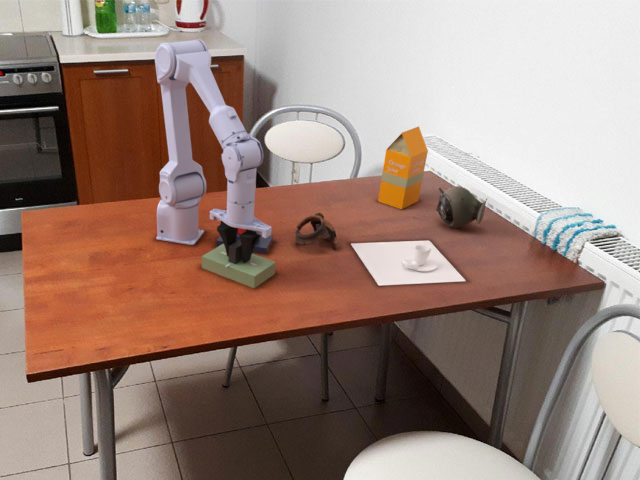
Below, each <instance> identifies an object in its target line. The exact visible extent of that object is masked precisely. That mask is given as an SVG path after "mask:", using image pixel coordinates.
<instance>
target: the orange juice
mask: <svg viewBox="0 0 640 480" xmlns="http://www.w3.org/2000/svg"><path fill="white" fill-rule="evenodd" d="M428 152H429V150H428V147H427V144H426V141H425V140H424V136H423V134H422V131H421V129H420V126H416V127H414V128H411V129H408V130H406V131H403V132H401V133H400V134H399V135H398V136H397V138H396V139H394V141H393V142H392V143H391V144H390V145H389V146H388V147H387V148H386V149H385V155H384V162H383V168H382V173H381V179H380V185H379V192H378V198H377V202H379V203H382V204H385V205H387V206H390V207H394V208H397V209H399V210H403V209H405V208H407V207H409V206H412V205H413V204H416V203H417V202H419V199H420V194H421V189H422V183H423V179H424V173H425V169H426V163H427V158H428Z"/></svg>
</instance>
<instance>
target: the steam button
mask: <svg viewBox="0 0 640 480" xmlns="http://www.w3.org/2000/svg"><path fill="white" fill-rule="evenodd" d="M244 232H246V230H245V229H240V228H238V232H237V233H238V234H242V233H244Z"/></svg>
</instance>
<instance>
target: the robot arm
mask: <svg viewBox="0 0 640 480" xmlns="http://www.w3.org/2000/svg"><path fill="white" fill-rule="evenodd" d="M153 55H154V65H155V74H156V81H157V84H159V85H160V91H161V101H162V109H163V119H164V127H165V137H166V144H167V145H166V146H167V153H168V162H167V163H166V164H165V165H164V166H163V168H161V170H160V171H159V184H158V193H159V196H160V198H161V199H160V200H159V202H158V204H157V208H156V230H157V231H156V233H157V235H156V237H155V239H156V240H157V241H162V242H170V243H175V244H181V245H188V246H195V245H196V243H197V242H198V241H199V240H200V238H201V237H202V235H203V234H204V233H205V230H204V229H199V227H200V226H199V224H200V223H199V221H200V220H199V219H200V218H199V217H200V215H199V208H200V207H199V206H200V205H199V203H200V202H202V198H203V197H204V196H205V195H206V194H207V193H206V192H207V187H208V186H207V180H206V178H205V175H204V171H203V166H202V165H200V164H199V163H198V162H196V161H195V160H193V149H192V141H191V140H192V139H191V130H190V121H189V111H188V101H187V100H188V99H187V90H186V88H187V86H188V84H191V85H192V87H193V88H194V89H195V91H196V93H197V94H198V96H199V97H200V99H201V101H202V102H203V104H204V105H205V107H206V109H207V110H208V112H209V117H208V118H209V119H208V124H209V126H210V128H211V129H212V131H213V133H214V135H215V137H216V139H217V141H218V143H219V144H220V147H221V149H222V150H223V152H222V153H221V162H222V165H223V168H224V175H225V178H226V179H227V186H226V192H227V193H226V210H225V209H219V208H217V207H216V208H213V209H211V210H209V220H211V221H215V220H216V221H219V222H220V223H219V225H217V227H216V231H217V233H218V234H219V236H221V238H222V240H223V243H224V246H225V249H226V253H227V256H228V257H229V246H230V245H231V244H233V243H235V242H236V238H237V232H238V228H240V229H245V230H246V232H244V233H242V234H240V235H239V237H240V240H241V244H242V262H244V263H246V262H247V261H249V260H250V259H251V255H252V254H253V249H254V247H255V245H256V243H257V241H258V239H259V238H260V236H261V235H262V237H264V238H267V237H269V236H270V235H272V230H273V228H272V226H271V225H268V224H267V223H265V222H263V221H261V220H260V219H258V218H257V217H256V216H255V206H256V205H255V204H256V203H255V202H256V200H255V199H256V185H257V168H259V167H260V166H261V165H262V164H263V161H264V149H263V147H262V144H261V142H260V141H259V139H258V138H255V137H254V136H252V134H251V133H248V132H247V129H246V128H245V127H244V125H243V123H242V121H241V119H240V117H239V115H238V113H237V111H236V109H235V108H234V107H233V106H230V105H227V104H226V102H225V100H224V97H223V95H222V93H221V91H220V89H219V86H218V83H217V81H216V79H215V77H214V74H213V72H212V69H211V65H212V54H211V53H210V51H209V48H208V46H207V44H206V42H205V41H204V40H202V39H200V38H196V39H192V40H183V41H174V42H161V43H160V44H159V45H158V46H157V49H156V51H154V54H153Z"/></svg>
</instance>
